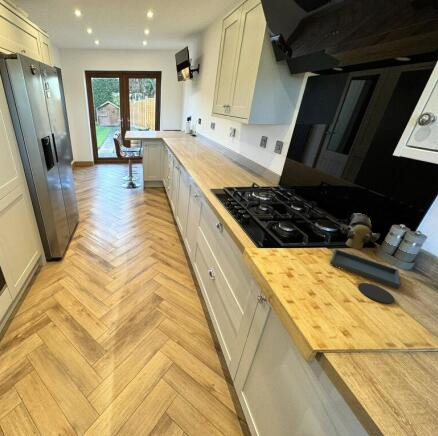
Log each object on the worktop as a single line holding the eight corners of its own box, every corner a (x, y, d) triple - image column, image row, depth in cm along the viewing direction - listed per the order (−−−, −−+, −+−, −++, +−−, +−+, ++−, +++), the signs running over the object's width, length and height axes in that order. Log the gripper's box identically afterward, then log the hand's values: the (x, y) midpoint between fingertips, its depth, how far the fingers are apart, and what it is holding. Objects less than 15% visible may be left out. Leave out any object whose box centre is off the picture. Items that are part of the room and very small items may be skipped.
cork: (346, 243, 106) (356, 221, 101) (362, 249, 102) (374, 227, 97) (341, 247, 103) (352, 225, 98) (358, 254, 99) (370, 231, 94)
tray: (395, 274, 87) (398, 269, 86) (397, 289, 80) (400, 284, 79) (333, 252, 99) (335, 248, 98) (329, 264, 91) (331, 260, 90)
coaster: (393, 293, 78) (393, 292, 78) (394, 308, 72) (395, 307, 72) (358, 280, 83) (359, 279, 83) (356, 293, 77) (357, 292, 77)
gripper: (344, 213, 112) (340, 225, 100) (384, 223, 104) (385, 237, 92) (338, 227, 115) (333, 240, 104) (376, 238, 107) (376, 253, 95)
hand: (357, 239), depth 98 cm, fingers closed on cork, 4 cm apart
